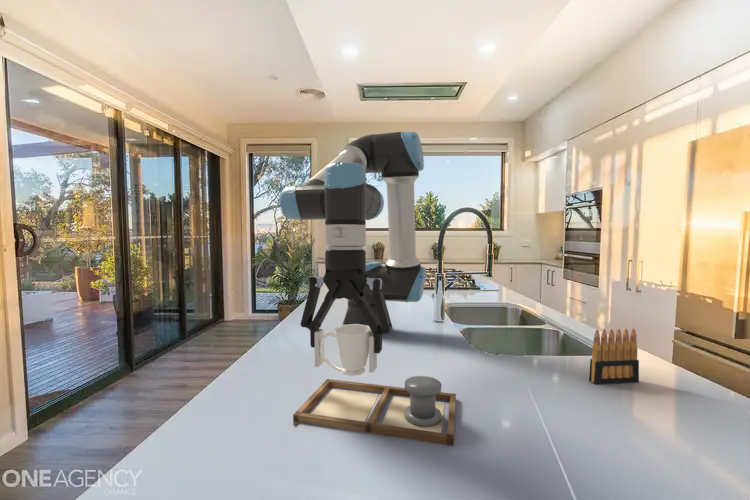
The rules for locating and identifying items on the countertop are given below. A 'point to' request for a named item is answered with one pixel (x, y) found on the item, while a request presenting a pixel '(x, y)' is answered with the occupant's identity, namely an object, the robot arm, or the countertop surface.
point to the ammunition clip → (614, 358)
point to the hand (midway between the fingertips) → (345, 366)
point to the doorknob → (422, 401)
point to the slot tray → (356, 406)
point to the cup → (350, 348)
